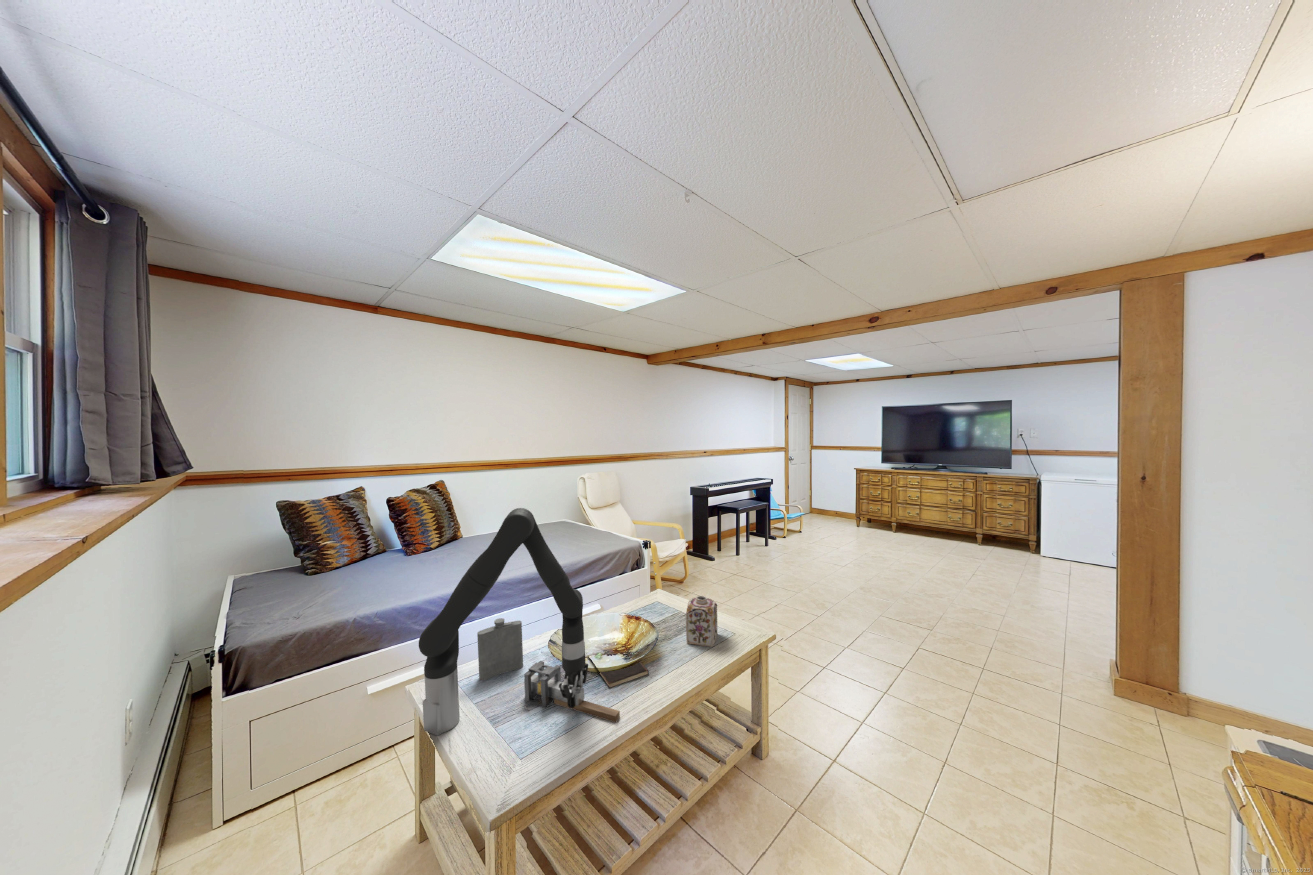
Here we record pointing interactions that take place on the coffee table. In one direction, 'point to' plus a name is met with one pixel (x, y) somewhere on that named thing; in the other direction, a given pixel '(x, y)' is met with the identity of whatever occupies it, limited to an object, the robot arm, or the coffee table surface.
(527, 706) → the coffee table surface
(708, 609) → the decorative jar
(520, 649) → the hip flask
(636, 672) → the hardcover book
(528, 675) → the frame
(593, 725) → the coffee table surface
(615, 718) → the walnut rail
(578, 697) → the square steel tube
